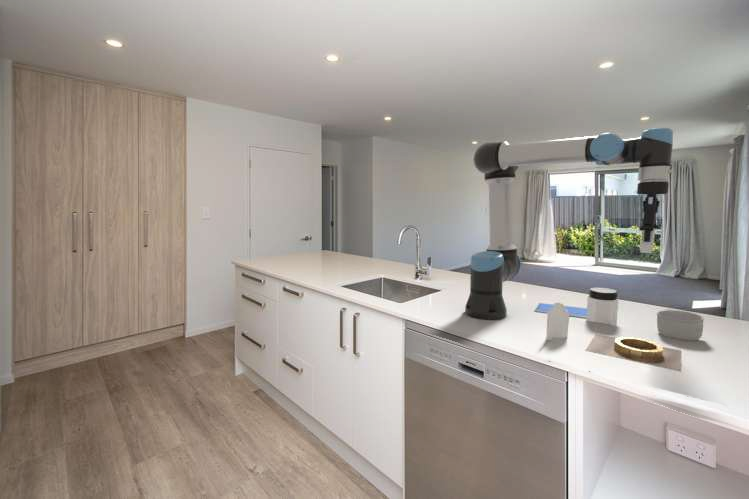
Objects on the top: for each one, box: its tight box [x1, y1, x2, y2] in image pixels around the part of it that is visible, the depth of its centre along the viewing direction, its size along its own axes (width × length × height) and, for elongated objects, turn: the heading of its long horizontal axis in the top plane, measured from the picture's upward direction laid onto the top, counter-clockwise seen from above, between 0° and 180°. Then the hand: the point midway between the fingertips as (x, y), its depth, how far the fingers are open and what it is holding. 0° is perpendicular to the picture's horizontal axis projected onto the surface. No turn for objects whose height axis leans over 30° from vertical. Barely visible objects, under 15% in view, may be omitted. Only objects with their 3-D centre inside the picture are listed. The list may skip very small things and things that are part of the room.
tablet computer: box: [533, 302, 587, 319], centre depth 140 cm, size 19×13×1 cm, turn 58°
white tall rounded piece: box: [545, 301, 570, 342], centre depth 109 cm, size 6×12×6 cm
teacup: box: [656, 308, 705, 342], centre depth 110 cm, size 14×11×8 cm
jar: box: [585, 287, 619, 327], centre depth 123 cm, size 9×8×12 cm
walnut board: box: [585, 333, 682, 372], centre depth 98 cm, size 20×16×2 cm
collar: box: [614, 336, 664, 360], centre depth 97 cm, size 10×10×2 cm
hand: (647, 250), depth 112 cm, fingers open, 13 cm apart
